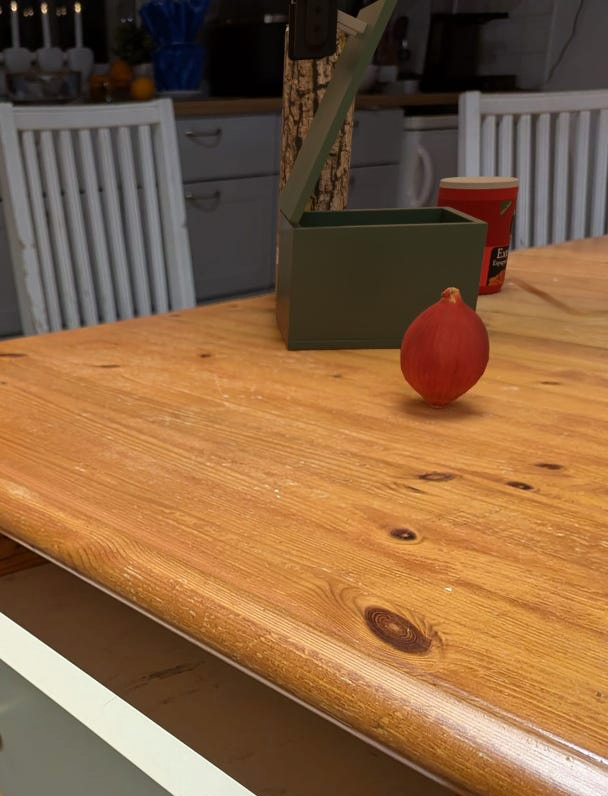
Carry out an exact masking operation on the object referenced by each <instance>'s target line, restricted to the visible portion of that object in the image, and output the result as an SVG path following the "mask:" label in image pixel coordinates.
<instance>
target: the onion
mask: <svg viewBox="0 0 608 796" xmlns="http://www.w3.org/2000/svg"><path fill="white" fill-rule="evenodd" d="M441 296H442V298H441V300H440V301H439V302H437V303H436V304H434V305H432V306H431V307H429V308H428V309H426V310H425V311H423V312H422V313H421V314H420V315H419V316H418V317H417V318H416V319H415V320H414V321H413V322H412V323H411V325H410V326H409V328H408V330H407V331H406V333H405V336H404V338H403V341H402V345H401V348H400V354H399V362H400V363H399V365H400V371H401V373H402V375H403V378H404V380H405V381H406V382H407V384H408V385H409V386H410V387H411V388H412V390H414V391H415V392H416V393H417V394H418V395H420V397H421V398H423V399H424V401H425V402H426V403H427V405H429V406H430V407H431V408H433V409H441V408H442V409H443V408H445V407H446V406H448V405H449V404H451V403H453V402H454V401H456V400H457V399H459V398H460V397H461V396H463V395H464V394H467V392H469V391H470V390H471V389H472V388H473V387H474V386H476V385H477V383H478V382H479V380H480V379H481V378H482V377H483V375H484V374H485V372H486V370H487V366H488V363H489V360H490V339H489V333H488V330H487V327H486V325H485V323H484V321H483V320H482V319H481V317H480V315H479V314H478V313H477V311H476V312H475V311H474V310H473V309H471V308H470V307H469V306H468V305H466V304H465V303H464V302H463V300H462V298H461V295H460V293H459V290H458V289H456V288H448V289H446V290H445V291H444V292H443V293H441Z"/></svg>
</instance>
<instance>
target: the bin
mask: <svg viewBox="0 0 608 796" xmlns="http://www.w3.org/2000/svg"><path fill="white" fill-rule="evenodd" d="M487 228H488V223H486V222H484V221H482V220H479V219H477V218H474V217H472V216H470V215H467V214H465V213H463V212H460V211H458V210H455V209H453V208H450V207H437V206H426V207H425V206H423V207H397V208H396V207H394V208H393V207H392V208H391V207H390V208H360V209H358V208H356V209H347V210H320V211H304V212H303V215H302V217H301V219H300V221H299V224H296V223H294V222H292V221H290V220H289V219H288V218H287V216H286V215H285V214H284V213H283V212H280V232H279V256H278V280H277V302H276V304H275V305H276V306H275V308H276V309H275V320H276V323H277V325H278V328H279V331H280V334H281V336H282V339H283V341H284V344H285V346H286V349H287V351H317V350H318V351H319V350H320V351H321V350H323V351H324V350H367V349H368V350H369V349H370V350H371V349H372V350H373V349H401V345H402V341H403V338H404V336H405V333H406V331H407V330H408V328H409V326H410V325H411V323H412V322H413V321H414V320H415V319H416V318H417V317H418V316H419V315H420V314H421V313H422V312H423V311H425V310H426V309H428V308H429V307H431V306H432V305H434V304H436V303H437V302H439V301H440V300H441V298H442V296H441V293H443V292H444V291H445V290H446V289H448V288H456V289H458V290H459V293H460V295H461V298H462V300H463V302H464V303H465V304H466V305H468V306H469V307H470V308H471V309H473V310H474V311H475V312H476V313H477V306H478V297H479V295H478V292H479V285H480V277H481V270H482V263H483V256H484V249H485V242H486V235H487Z"/></svg>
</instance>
